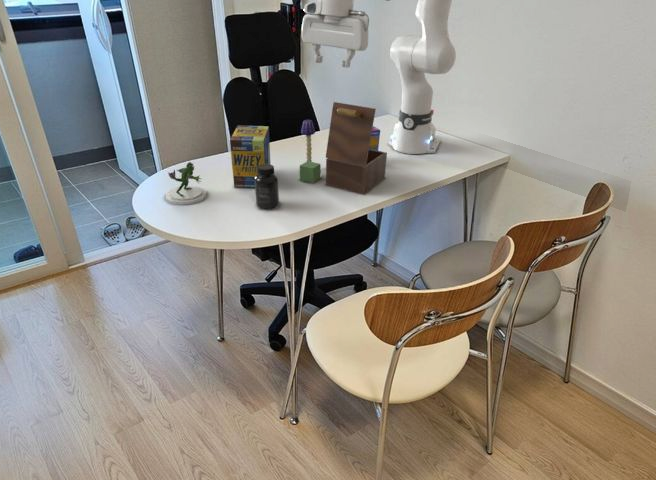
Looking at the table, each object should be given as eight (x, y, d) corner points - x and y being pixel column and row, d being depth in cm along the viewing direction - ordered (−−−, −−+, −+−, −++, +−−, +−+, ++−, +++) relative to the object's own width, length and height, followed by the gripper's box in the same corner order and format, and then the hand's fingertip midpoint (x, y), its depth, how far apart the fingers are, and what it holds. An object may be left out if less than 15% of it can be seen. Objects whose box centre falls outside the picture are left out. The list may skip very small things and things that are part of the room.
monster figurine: (213, 197, 151) (209, 164, 146) (178, 208, 145) (172, 175, 139) (193, 185, 159) (188, 154, 153) (158, 195, 152) (152, 163, 146)
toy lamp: (313, 172, 169) (313, 123, 160) (300, 171, 170) (299, 122, 160) (316, 167, 173) (316, 119, 164) (303, 166, 174) (303, 118, 164)
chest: (348, 170, 172) (349, 145, 167) (384, 178, 166) (387, 152, 161) (325, 185, 160) (326, 158, 155) (363, 194, 154) (365, 167, 149)
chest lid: (334, 102, 149) (326, 101, 145) (375, 108, 144) (368, 107, 140) (326, 157, 155) (318, 158, 151) (366, 166, 150) (359, 166, 145)
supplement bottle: (284, 205, 147) (282, 166, 141) (267, 212, 143) (264, 173, 136) (268, 198, 151) (266, 160, 144) (251, 205, 147) (248, 166, 140)
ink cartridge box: (354, 167, 174) (356, 126, 166) (347, 162, 178) (348, 121, 170) (378, 163, 178) (381, 122, 170) (370, 158, 182) (373, 118, 174)
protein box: (233, 188, 157) (229, 139, 149) (241, 170, 170) (237, 124, 162) (266, 188, 157) (263, 140, 149) (271, 170, 170) (269, 125, 162)
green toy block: (307, 175, 167) (307, 160, 164) (320, 178, 165) (320, 163, 162) (299, 179, 164) (299, 165, 161) (312, 183, 162) (312, 168, 159)
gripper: (376, 12, 128) (369, 69, 135) (313, 5, 138) (310, 59, 145) (363, 11, 124) (357, 70, 131) (299, 4, 133) (296, 60, 140)
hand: (332, 64), depth 138 cm, fingers open, 8 cm apart
